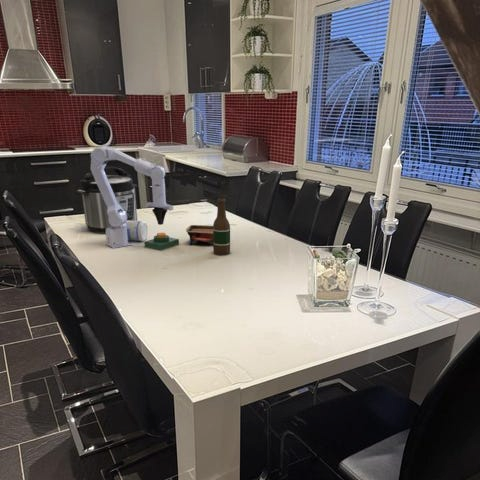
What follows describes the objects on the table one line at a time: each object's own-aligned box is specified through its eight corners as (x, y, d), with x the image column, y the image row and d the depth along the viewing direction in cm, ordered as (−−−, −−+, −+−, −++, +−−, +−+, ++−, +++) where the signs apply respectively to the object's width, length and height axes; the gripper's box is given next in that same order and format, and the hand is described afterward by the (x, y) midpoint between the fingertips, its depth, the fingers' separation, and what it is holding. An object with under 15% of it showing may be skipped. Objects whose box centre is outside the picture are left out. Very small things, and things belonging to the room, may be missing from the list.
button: (161, 238, 216) (161, 235, 215) (155, 237, 217) (155, 233, 217) (167, 237, 219) (167, 233, 218) (161, 235, 221) (160, 232, 220)
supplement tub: (142, 243, 224) (113, 242, 226) (149, 238, 232) (121, 236, 235) (139, 223, 219) (110, 222, 222) (147, 218, 228) (119, 217, 230)
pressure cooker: (80, 236, 234) (72, 170, 221) (85, 224, 259) (77, 164, 246) (141, 233, 241) (136, 169, 227) (140, 222, 266) (135, 163, 253)
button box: (160, 250, 212) (160, 241, 210) (144, 247, 217) (143, 237, 215) (179, 244, 222) (178, 235, 220) (163, 241, 227) (162, 232, 225)
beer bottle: (228, 255, 206) (228, 200, 196) (211, 254, 207) (210, 199, 197) (231, 251, 213) (232, 197, 203) (215, 250, 214) (214, 196, 204)
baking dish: (217, 251, 219) (220, 231, 215) (181, 243, 221) (183, 222, 217) (223, 246, 232) (227, 226, 228) (189, 238, 234) (192, 218, 230)
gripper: (177, 194, 210) (178, 224, 215) (152, 191, 217) (154, 220, 222) (166, 196, 204) (168, 227, 210) (142, 193, 211) (144, 223, 217)
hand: (160, 224), depth 215 cm, fingers closed
